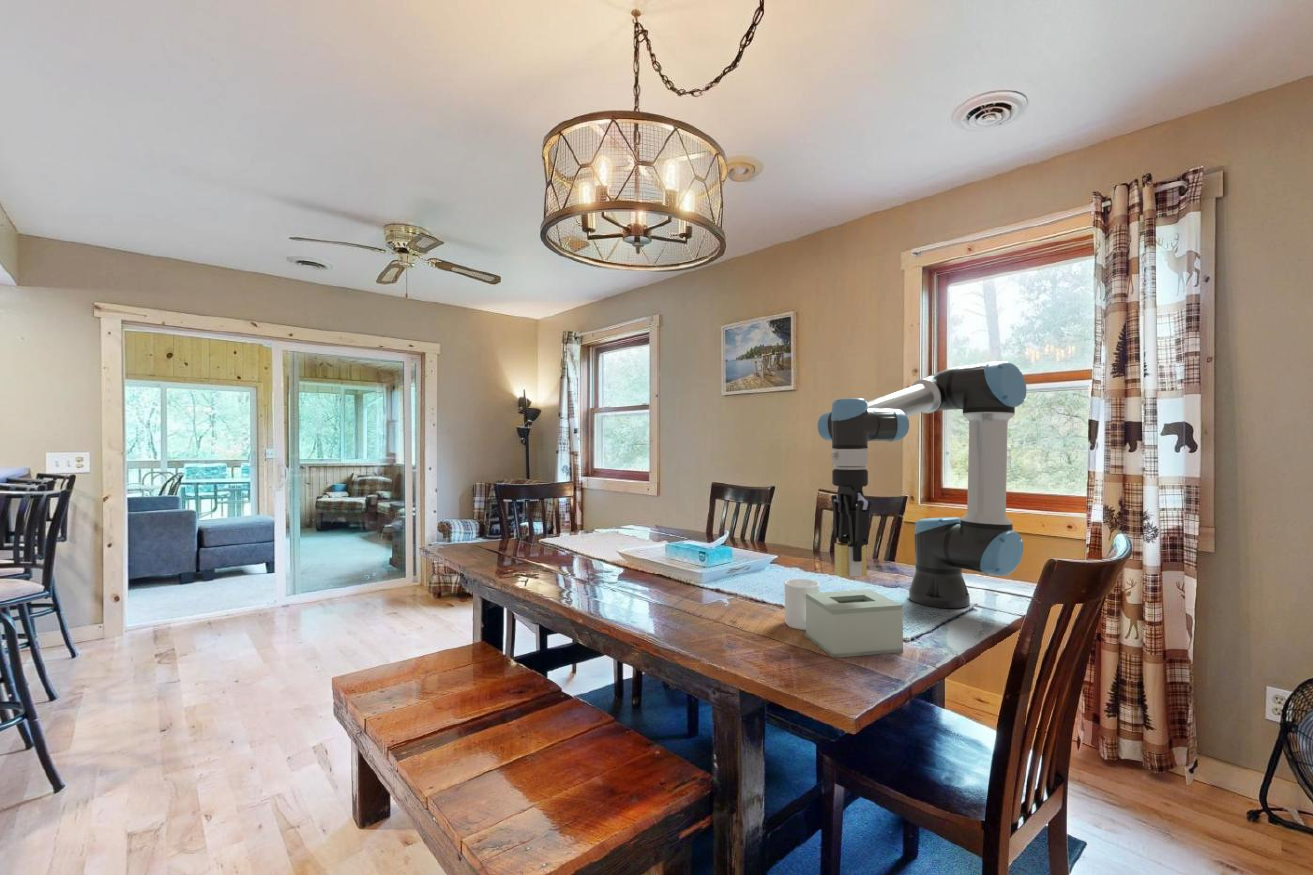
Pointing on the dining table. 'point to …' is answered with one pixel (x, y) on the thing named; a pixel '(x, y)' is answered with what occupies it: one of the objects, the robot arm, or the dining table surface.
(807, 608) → the box
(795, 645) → the dining table surface
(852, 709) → the dining table surface
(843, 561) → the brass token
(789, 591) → the mug
